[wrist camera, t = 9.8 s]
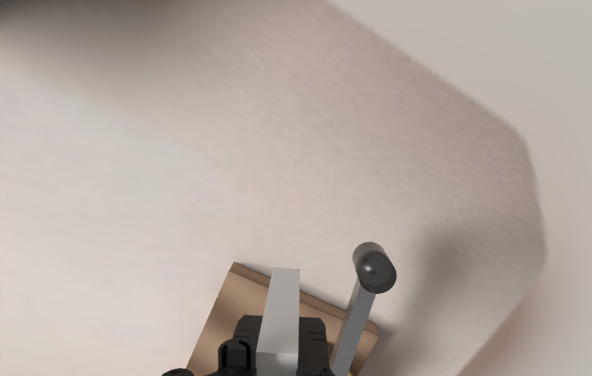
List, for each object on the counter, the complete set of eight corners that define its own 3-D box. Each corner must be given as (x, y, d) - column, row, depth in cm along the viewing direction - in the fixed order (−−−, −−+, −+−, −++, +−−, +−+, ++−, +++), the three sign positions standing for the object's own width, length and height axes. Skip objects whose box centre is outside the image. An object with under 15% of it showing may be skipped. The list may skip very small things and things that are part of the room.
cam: (452, 286, 29) (504, 344, 21) (321, 433, 32) (325, 529, 24) (357, 219, 28) (375, 254, 20) (233, 377, 31) (209, 458, 24)
